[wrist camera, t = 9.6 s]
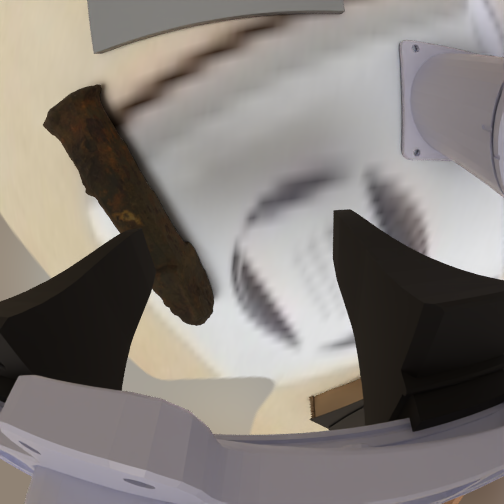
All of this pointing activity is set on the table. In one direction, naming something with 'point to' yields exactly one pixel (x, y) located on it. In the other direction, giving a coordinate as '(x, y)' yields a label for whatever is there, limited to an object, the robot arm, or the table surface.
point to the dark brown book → (339, 407)
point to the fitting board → (182, 16)
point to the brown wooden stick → (130, 200)
